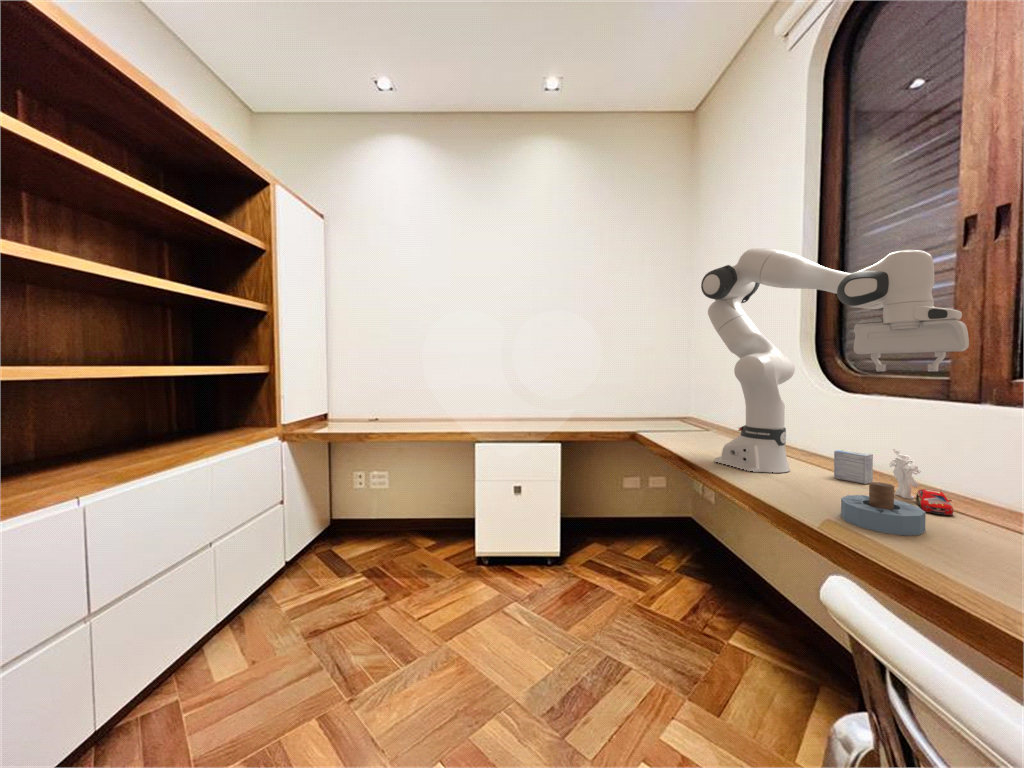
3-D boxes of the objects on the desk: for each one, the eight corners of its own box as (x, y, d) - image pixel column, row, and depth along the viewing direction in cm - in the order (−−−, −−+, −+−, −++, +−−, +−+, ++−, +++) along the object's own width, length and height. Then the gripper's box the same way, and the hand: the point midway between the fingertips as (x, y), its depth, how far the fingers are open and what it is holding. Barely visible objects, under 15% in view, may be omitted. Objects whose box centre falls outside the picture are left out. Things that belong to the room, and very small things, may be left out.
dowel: (865, 521, 86) (866, 483, 86) (872, 517, 88) (873, 481, 88) (889, 527, 83) (890, 488, 83) (896, 523, 85) (897, 485, 85)
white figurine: (884, 490, 107) (885, 447, 107) (902, 491, 106) (903, 447, 106) (906, 501, 99) (907, 454, 98) (925, 502, 98) (927, 455, 97)
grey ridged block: (873, 482, 115) (873, 453, 114) (865, 484, 113) (866, 455, 112) (841, 476, 122) (841, 448, 121) (833, 478, 120) (833, 450, 119)
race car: (955, 520, 87) (955, 502, 87) (920, 514, 91) (920, 497, 91) (946, 503, 97) (946, 488, 97) (915, 499, 101) (915, 484, 101)
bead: (831, 519, 88) (832, 501, 88) (855, 508, 95) (855, 491, 94) (912, 540, 77) (912, 520, 77) (932, 526, 84) (932, 507, 83)
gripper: (849, 319, 104) (848, 371, 105) (964, 309, 87) (962, 371, 87) (859, 321, 108) (858, 371, 108) (972, 311, 90) (970, 371, 91)
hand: (905, 371), depth 98 cm, fingers open, 8 cm apart
